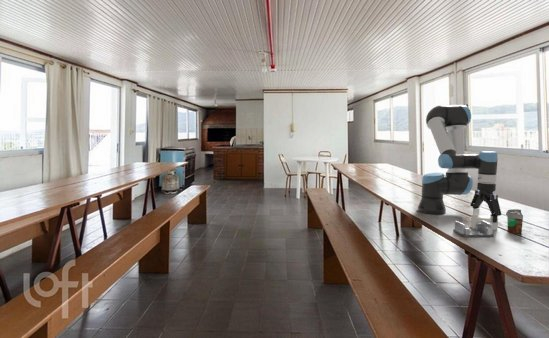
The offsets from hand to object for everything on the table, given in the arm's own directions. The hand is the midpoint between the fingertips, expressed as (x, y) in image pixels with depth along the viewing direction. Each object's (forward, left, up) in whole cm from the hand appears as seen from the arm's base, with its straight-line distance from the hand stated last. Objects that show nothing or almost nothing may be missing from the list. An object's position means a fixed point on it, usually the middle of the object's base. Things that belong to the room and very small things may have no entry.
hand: (483, 224), depth 156 cm
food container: (+12, +1, -2) cm, 12 cm away
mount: (-5, -13, -2) cm, 14 cm away
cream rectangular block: (0, 0, -2) cm, 2 cm away
